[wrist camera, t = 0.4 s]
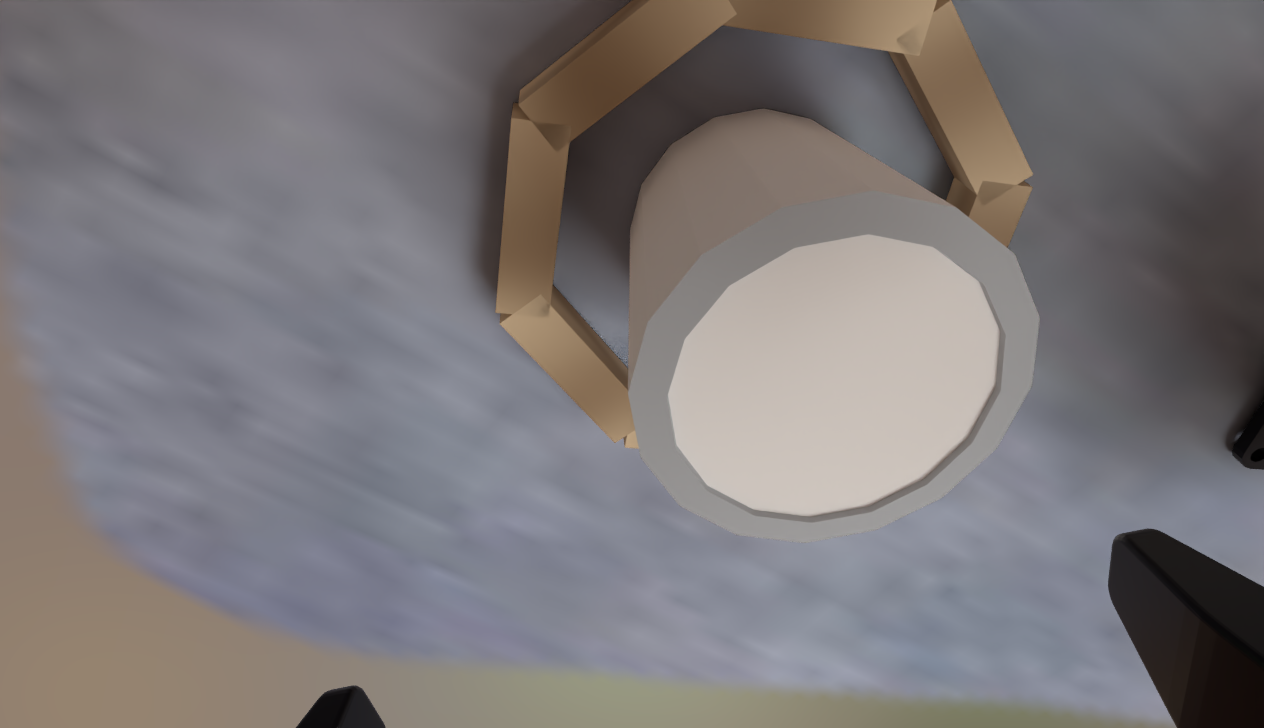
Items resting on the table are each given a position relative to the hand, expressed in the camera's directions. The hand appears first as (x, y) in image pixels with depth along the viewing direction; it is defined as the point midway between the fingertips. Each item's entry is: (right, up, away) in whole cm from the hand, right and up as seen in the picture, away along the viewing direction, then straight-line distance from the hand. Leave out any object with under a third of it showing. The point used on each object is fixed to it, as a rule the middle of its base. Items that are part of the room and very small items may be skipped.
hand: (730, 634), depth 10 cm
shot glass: (+2, +6, +10) cm, 12 cm away
